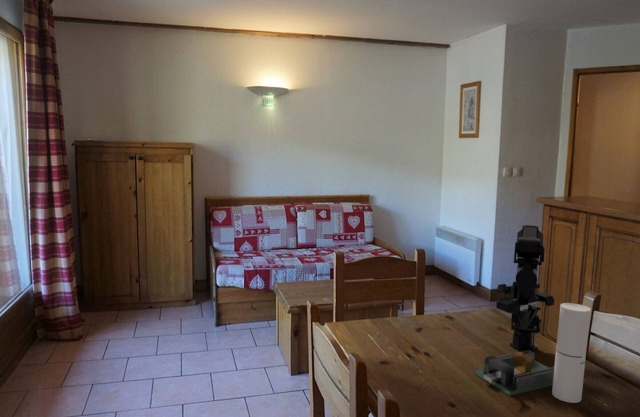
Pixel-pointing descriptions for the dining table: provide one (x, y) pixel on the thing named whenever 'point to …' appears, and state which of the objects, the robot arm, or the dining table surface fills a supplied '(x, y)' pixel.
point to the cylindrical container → (571, 352)
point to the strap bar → (520, 367)
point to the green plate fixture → (517, 383)
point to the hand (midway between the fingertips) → (524, 329)
